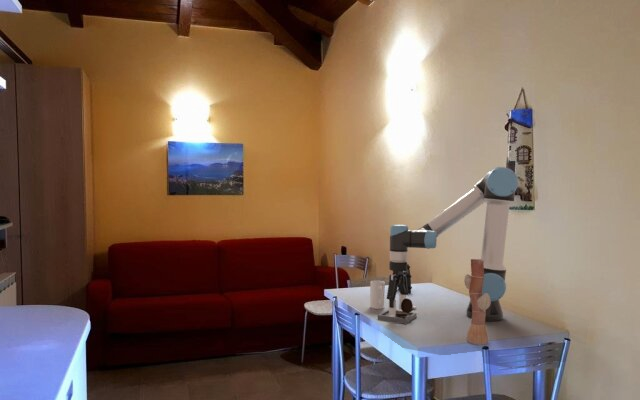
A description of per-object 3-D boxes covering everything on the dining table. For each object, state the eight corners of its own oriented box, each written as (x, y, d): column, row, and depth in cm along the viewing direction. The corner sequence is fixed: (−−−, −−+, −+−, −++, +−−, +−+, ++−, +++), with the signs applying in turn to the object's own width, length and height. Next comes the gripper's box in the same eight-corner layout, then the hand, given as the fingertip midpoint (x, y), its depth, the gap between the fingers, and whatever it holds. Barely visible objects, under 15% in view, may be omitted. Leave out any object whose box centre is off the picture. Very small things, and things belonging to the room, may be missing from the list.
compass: (390, 315, 205) (389, 298, 206) (403, 315, 210) (402, 298, 211) (404, 316, 199) (403, 298, 200) (417, 316, 203) (416, 298, 205)
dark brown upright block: (408, 291, 255) (403, 264, 261) (398, 297, 267) (394, 271, 273) (414, 291, 256) (409, 264, 262) (404, 297, 267) (400, 271, 274)
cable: (416, 309, 223) (416, 306, 223) (405, 315, 211) (405, 312, 211) (411, 308, 224) (411, 305, 224) (400, 314, 213) (400, 311, 213)
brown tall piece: (493, 344, 171) (494, 260, 171) (474, 345, 170) (476, 260, 169) (477, 336, 182) (479, 256, 181) (459, 337, 180) (461, 256, 180)
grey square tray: (416, 317, 208) (416, 313, 208) (406, 323, 198) (406, 319, 197) (389, 313, 215) (389, 309, 215) (377, 319, 204) (377, 314, 204)
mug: (367, 306, 228) (368, 280, 227) (380, 305, 229) (381, 280, 229) (376, 311, 218) (376, 284, 218) (389, 310, 220) (390, 284, 220)
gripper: (400, 257, 218) (399, 305, 218) (379, 263, 198) (378, 316, 198) (416, 258, 214) (415, 308, 214) (396, 265, 194) (395, 319, 194)
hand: (397, 312), depth 206 cm, fingers open, 11 cm apart
